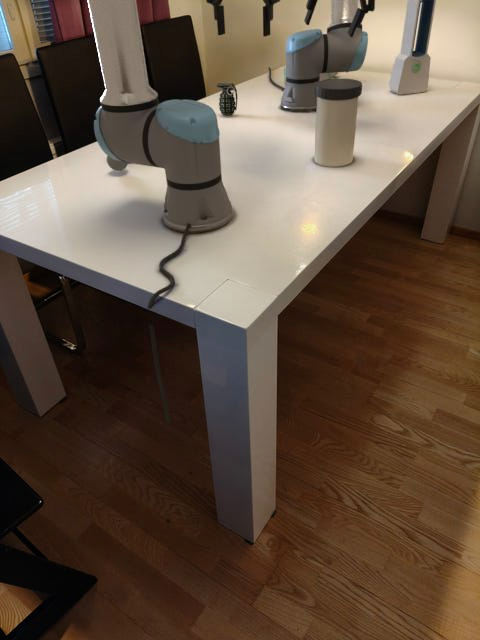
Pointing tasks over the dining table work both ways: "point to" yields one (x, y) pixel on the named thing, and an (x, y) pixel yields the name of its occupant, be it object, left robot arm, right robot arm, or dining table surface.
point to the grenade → (227, 99)
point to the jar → (335, 131)
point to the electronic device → (415, 64)
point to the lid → (338, 89)
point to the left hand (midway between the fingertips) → (243, 35)
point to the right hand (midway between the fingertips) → (328, 29)
